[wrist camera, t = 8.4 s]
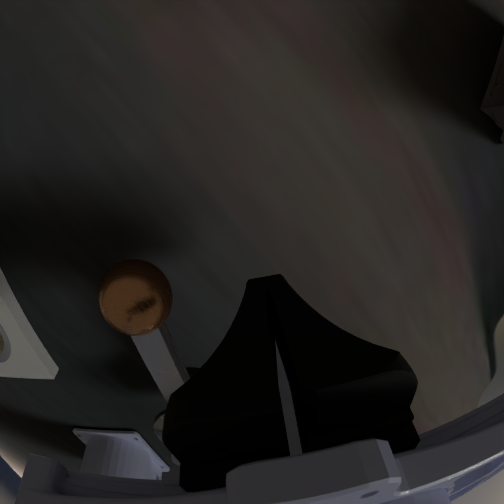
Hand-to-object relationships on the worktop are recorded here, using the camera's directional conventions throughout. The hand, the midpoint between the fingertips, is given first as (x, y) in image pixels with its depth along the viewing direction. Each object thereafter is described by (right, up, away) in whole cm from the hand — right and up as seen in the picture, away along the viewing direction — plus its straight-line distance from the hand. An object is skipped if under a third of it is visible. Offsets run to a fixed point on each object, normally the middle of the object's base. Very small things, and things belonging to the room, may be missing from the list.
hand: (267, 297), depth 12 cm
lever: (-6, -2, +5) cm, 8 cm away
